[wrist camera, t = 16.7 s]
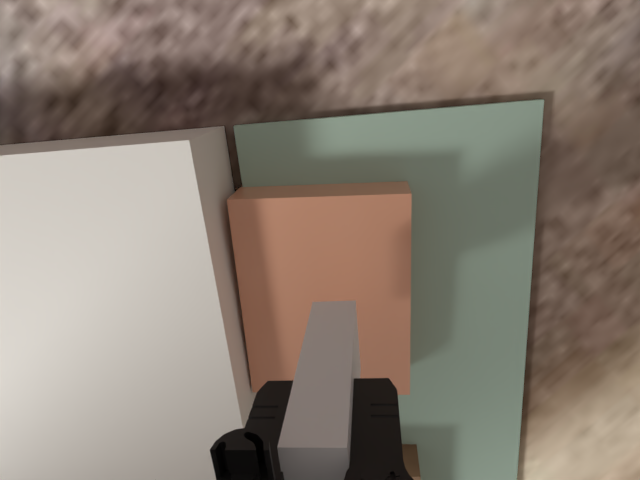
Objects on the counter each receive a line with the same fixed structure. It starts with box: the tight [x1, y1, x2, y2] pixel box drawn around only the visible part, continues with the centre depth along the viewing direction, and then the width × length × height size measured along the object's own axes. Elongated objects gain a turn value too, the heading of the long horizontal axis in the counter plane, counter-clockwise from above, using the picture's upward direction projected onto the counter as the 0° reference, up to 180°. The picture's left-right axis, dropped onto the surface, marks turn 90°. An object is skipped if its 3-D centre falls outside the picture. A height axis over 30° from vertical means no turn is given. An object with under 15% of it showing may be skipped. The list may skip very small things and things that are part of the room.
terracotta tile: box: [227, 181, 412, 395], centre depth 20 cm, size 9×7×2 cm
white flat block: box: [0, 126, 257, 480], centre depth 23 cm, size 28×15×4 cm, turn 5°
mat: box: [233, 99, 544, 480], centre depth 23 cm, size 28×12×1 cm, turn 5°
